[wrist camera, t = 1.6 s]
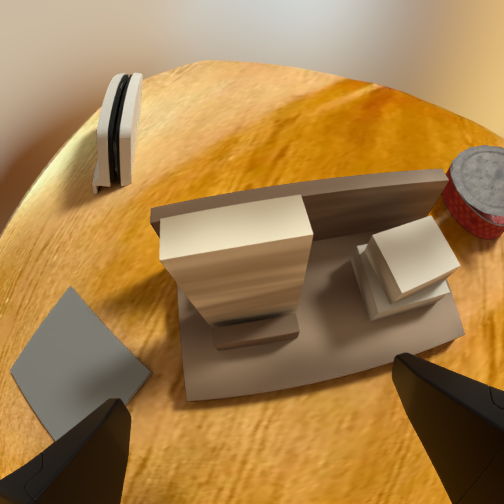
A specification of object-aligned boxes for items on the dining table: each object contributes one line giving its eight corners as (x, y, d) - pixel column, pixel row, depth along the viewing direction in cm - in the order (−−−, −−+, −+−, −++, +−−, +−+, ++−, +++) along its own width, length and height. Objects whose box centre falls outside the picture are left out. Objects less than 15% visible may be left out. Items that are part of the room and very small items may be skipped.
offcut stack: (438, 301, 20) (466, 279, 16) (369, 321, 20) (389, 301, 16) (416, 243, 23) (436, 214, 19) (349, 256, 23) (362, 226, 19)
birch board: (295, 316, 21) (313, 234, 11) (213, 329, 21) (159, 260, 11) (290, 290, 22) (300, 194, 12) (210, 304, 22) (160, 218, 12)
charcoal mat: (78, 464, 17) (74, 465, 16) (13, 371, 21) (10, 370, 20) (152, 372, 21) (150, 372, 20) (73, 287, 25) (70, 285, 24)
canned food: (473, 261, 28) (506, 254, 19) (420, 200, 31) (436, 172, 22) (518, 201, 26) (554, 178, 16) (468, 145, 29) (491, 107, 20)
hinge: (111, 117, 38) (111, 60, 30) (140, 116, 40) (144, 59, 32) (93, 196, 30) (82, 126, 22) (131, 195, 32) (130, 124, 24)
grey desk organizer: (455, 338, 20) (509, 310, 13) (192, 401, 20) (154, 399, 13) (412, 221, 26) (441, 168, 19) (180, 259, 26) (151, 208, 19)
